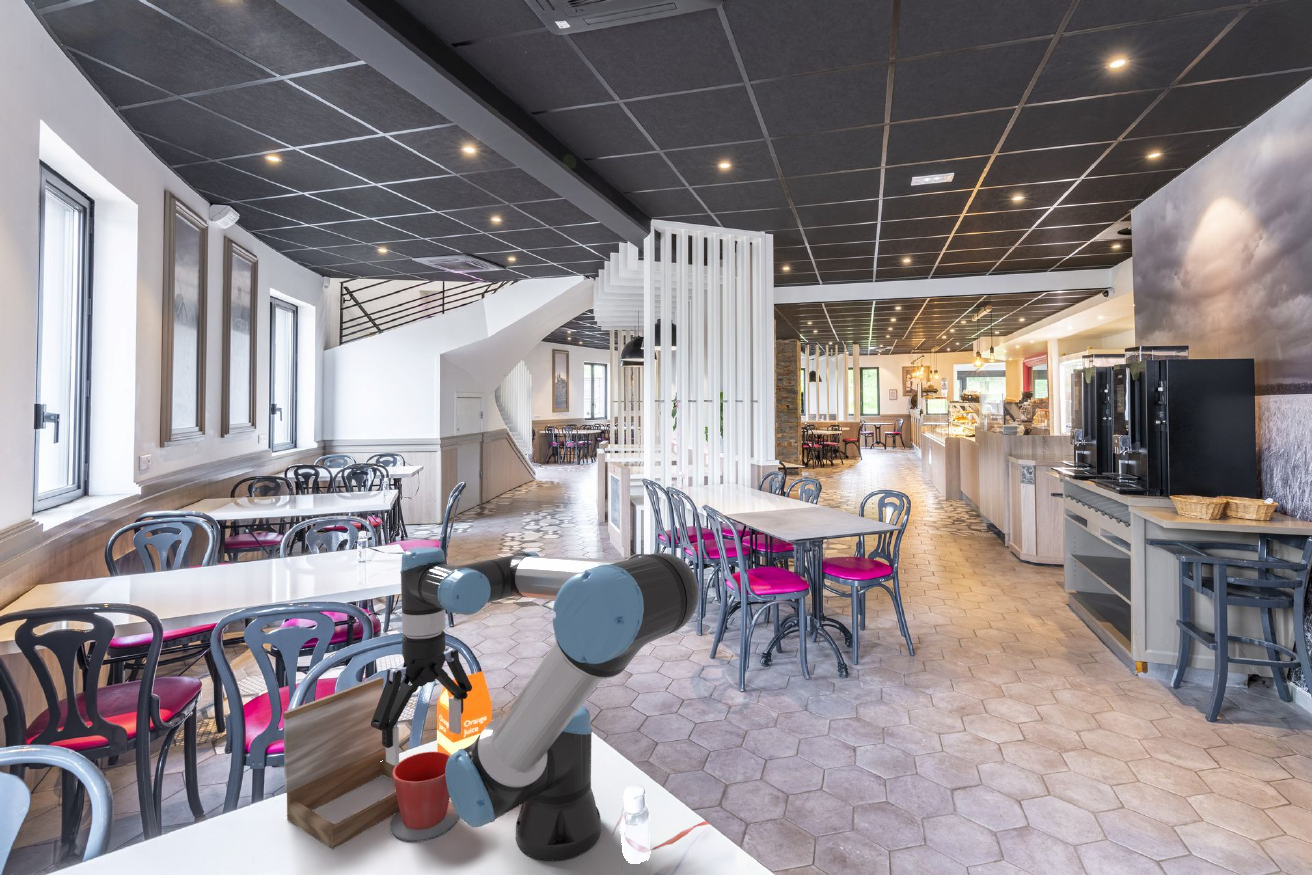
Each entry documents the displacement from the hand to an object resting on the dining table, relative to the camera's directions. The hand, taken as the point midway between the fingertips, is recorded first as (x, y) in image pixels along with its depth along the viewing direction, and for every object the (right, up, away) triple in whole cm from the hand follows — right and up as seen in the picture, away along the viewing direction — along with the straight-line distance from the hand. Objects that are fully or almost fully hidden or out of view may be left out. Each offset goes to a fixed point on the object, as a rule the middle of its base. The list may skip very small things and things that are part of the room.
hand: (425, 746), depth 120 cm
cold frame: (-15, -14, +5) cm, 21 cm away
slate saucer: (0, -14, +1) cm, 14 cm away
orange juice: (+2, -14, +18) cm, 23 cm away
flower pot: (0, -14, +1) cm, 14 cm away
